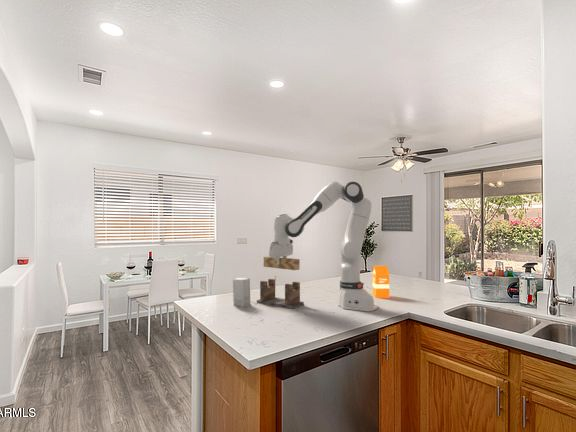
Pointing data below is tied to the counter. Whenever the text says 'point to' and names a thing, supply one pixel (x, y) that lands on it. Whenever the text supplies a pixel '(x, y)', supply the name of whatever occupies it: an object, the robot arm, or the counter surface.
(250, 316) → the counter surface
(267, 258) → the oak rail
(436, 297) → the counter surface
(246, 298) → the skincare box
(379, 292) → the orange juice
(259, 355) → the counter surface
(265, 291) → the slotted posts
